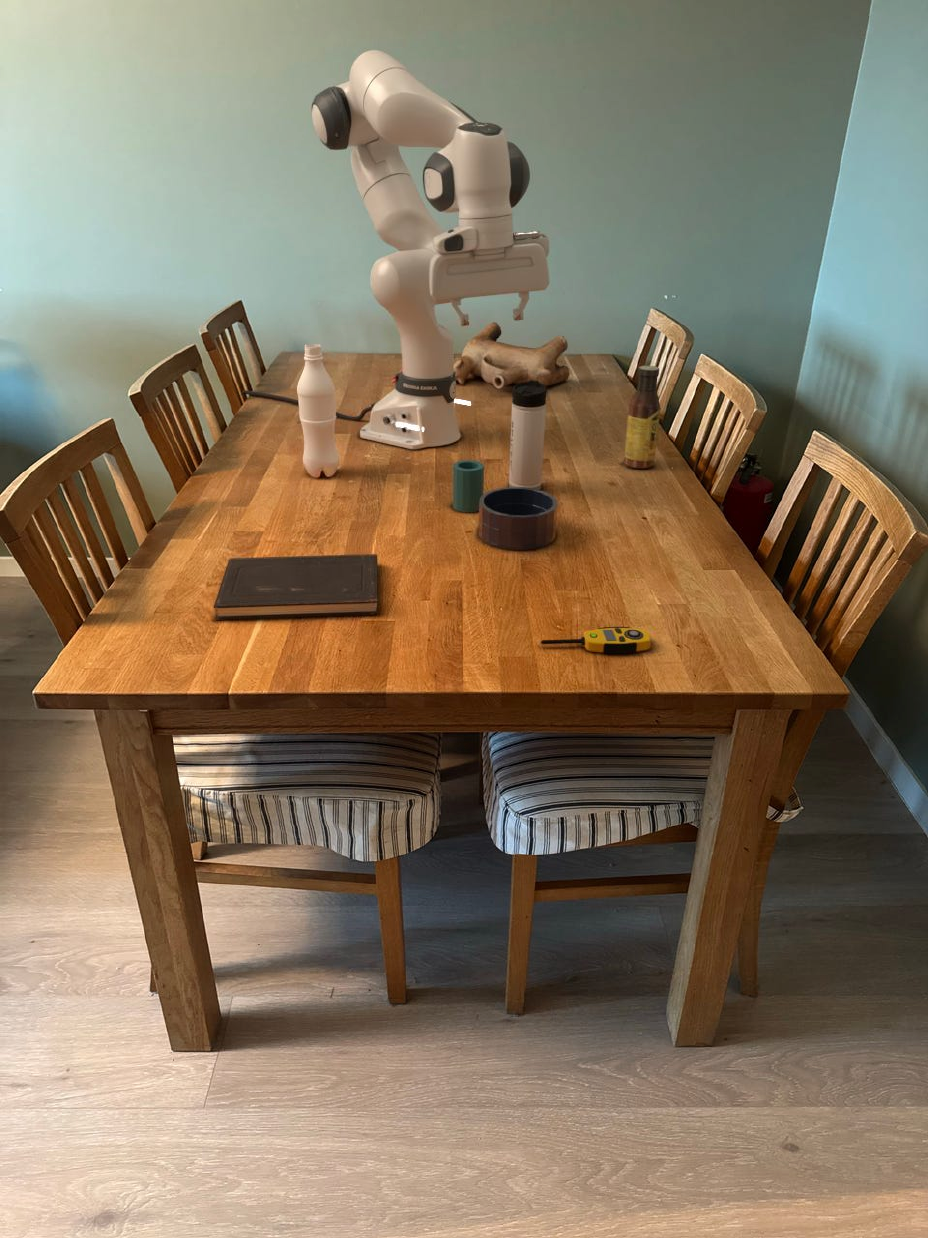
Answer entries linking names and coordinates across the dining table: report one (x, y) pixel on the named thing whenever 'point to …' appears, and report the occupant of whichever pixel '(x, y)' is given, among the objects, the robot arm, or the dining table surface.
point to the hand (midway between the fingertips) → (491, 322)
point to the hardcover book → (298, 587)
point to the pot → (517, 518)
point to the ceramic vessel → (510, 360)
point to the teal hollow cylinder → (467, 485)
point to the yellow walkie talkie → (611, 640)
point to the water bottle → (317, 415)
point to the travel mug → (527, 434)
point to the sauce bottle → (643, 420)
